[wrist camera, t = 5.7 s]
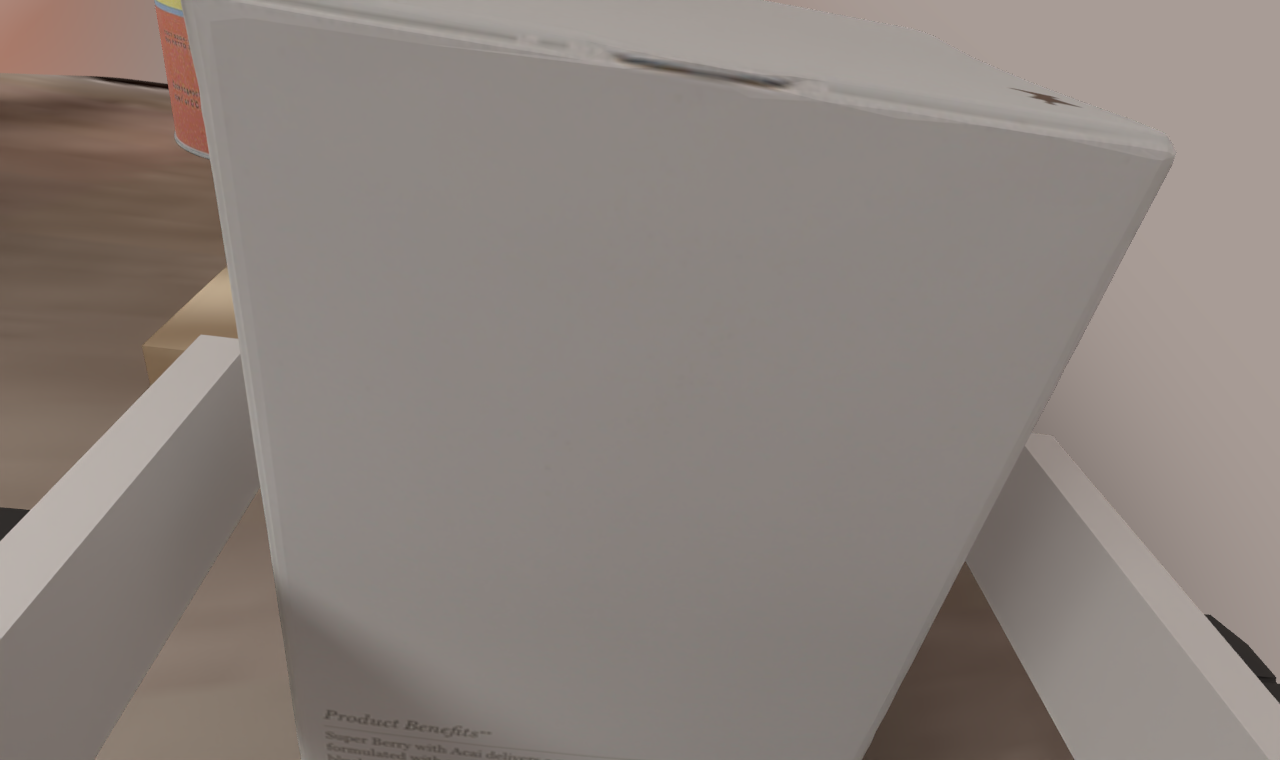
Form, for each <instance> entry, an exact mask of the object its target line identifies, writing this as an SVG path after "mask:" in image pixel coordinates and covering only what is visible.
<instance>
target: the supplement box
mask: <svg viewBox="0 0 1280 760" xmlns="http://www.w3.org/2000/svg"><path fill="white" fill-rule="evenodd" d="M181 6H182V11H183V16H184V20H185V25H186V30H187V35H188V40H189V45H190V50H191V55H192V59H193V64H194V68H195V72H196V77H197V81H198V86H199V92H200V101H201V110H202V116H203V120H204V125H205V130H206V137H207V144H208V150H209V156H210V162H211V168H212V174H213V180H214V186H215V192H216V198H217V204H218V211H219V217H220V223H221V230H222V236H223V242H224V249H225V255H226V261H227V268H228V274H229V280H230V286H231V293H232V300H233V307H234V313H235V320H236V327H237V334H238V341H239V347H240V354H241V361H242V368H243V374H244V381H245V388H246V394H247V401H248V408H249V415H250V422H251V428H252V435H253V442H254V449H255V455H256V462H257V468H258V475H259V481H260V488H261V494H262V500H263V507H264V513H265V519H266V526H267V532H268V539H269V546H270V553H271V560H272V567H273V574H274V581H275V588H276V594H277V601H278V608H279V614H280V620H281V627H282V633H283V639H284V647H285V654H286V661H287V668H288V675H289V682H290V689H291V696H292V703H293V710H294V716H295V723H296V730H297V737H298V744H299V749H300V754H301V760H862V759H863V757H864V755H865V753H866V751H867V749H868V748H869V746H870V744H871V742H872V740H873V738H874V735H875V732H876V731H877V729H878V727H879V725H880V723H881V722H882V720H883V718H884V716H885V715H886V713H887V711H888V709H889V707H890V705H891V703H892V701H893V699H894V697H895V695H896V693H897V691H898V689H899V687H900V685H901V683H902V681H903V679H904V678H905V676H906V674H907V672H908V670H909V668H910V666H911V665H912V663H913V661H914V659H915V657H916V655H917V653H918V651H919V649H920V647H921V645H922V643H923V641H924V639H925V637H926V635H927V633H928V632H929V630H930V628H931V626H932V624H933V622H934V620H935V618H936V616H937V614H938V612H939V610H940V608H941V606H942V604H943V602H944V600H945V599H946V597H947V595H948V593H949V591H950V589H951V587H952V585H953V583H954V581H955V579H956V577H957V575H958V573H959V571H960V570H961V568H962V566H963V564H964V562H965V560H966V558H967V556H968V554H969V552H970V550H971V548H972V546H973V544H974V543H975V541H976V539H977V537H978V535H979V533H980V531H981V529H982V527H983V525H984V523H985V521H986V519H987V517H988V515H989V514H990V512H991V510H992V508H993V506H994V504H995V502H996V500H997V498H998V496H999V494H1000V492H1001V490H1002V489H1003V487H1004V485H1005V483H1006V481H1007V479H1008V477H1009V475H1010V473H1011V471H1012V469H1013V467H1014V465H1015V464H1016V462H1017V460H1018V458H1019V456H1020V454H1021V452H1022V450H1023V448H1024V446H1025V444H1026V442H1027V440H1028V439H1029V437H1030V435H1031V433H1032V431H1033V429H1034V427H1035V425H1036V423H1037V421H1038V419H1039V417H1040V416H1041V414H1042V412H1043V410H1044V408H1045V406H1046V404H1047V403H1048V401H1049V398H1050V397H1051V395H1052V393H1053V391H1054V390H1055V388H1056V386H1057V383H1058V381H1059V379H1060V377H1061V375H1062V373H1063V371H1064V369H1065V367H1066V365H1067V364H1068V362H1069V360H1070V358H1071V356H1072V354H1073V353H1074V351H1075V349H1076V347H1077V345H1078V343H1079V341H1080V340H1081V337H1082V336H1083V334H1084V332H1085V330H1086V328H1087V326H1088V324H1089V322H1090V320H1091V318H1092V316H1093V315H1094V312H1095V311H1096V309H1097V306H1098V305H1099V303H1100V301H1101V299H1102V297H1103V295H1104V293H1105V291H1106V289H1107V287H1108V286H1109V284H1110V282H1111V280H1112V278H1113V276H1114V274H1115V272H1116V270H1117V268H1118V266H1119V264H1120V262H1121V261H1122V259H1123V257H1124V255H1125V253H1126V251H1127V249H1128V247H1129V245H1130V244H1131V242H1132V240H1133V238H1134V236H1135V234H1136V232H1137V230H1138V228H1139V227H1140V225H1141V223H1142V221H1143V219H1144V217H1145V215H1146V213H1147V212H1148V209H1149V208H1150V206H1151V204H1152V202H1153V200H1154V198H1155V196H1156V195H1157V193H1158V191H1159V189H1160V187H1161V185H1162V183H1163V181H1164V179H1165V178H1166V176H1167V174H1168V172H1169V170H1170V168H1171V166H1172V163H1173V161H1174V157H1175V155H1176V150H1175V148H1174V146H1173V143H1172V142H1171V140H1170V139H1169V137H1168V136H1167V135H1166V133H1164V132H1162V131H1159V130H1157V129H1154V128H1151V127H1149V126H1146V125H1144V124H1142V123H1139V122H1137V121H1134V120H1131V119H1129V118H1127V117H1124V116H1121V115H1118V114H1115V113H1113V112H1110V111H1107V110H1104V109H1101V108H1099V107H1096V106H1093V105H1090V104H1087V103H1084V102H1082V101H1079V100H1076V99H1074V98H1071V97H1068V96H1066V95H1063V94H1061V93H1058V92H1056V91H1053V90H1050V89H1048V88H1045V87H1042V86H1039V85H1037V84H1035V83H1032V82H1030V81H1027V80H1025V79H1022V78H1020V77H1018V76H1015V75H1013V74H1011V73H1008V72H1006V71H1003V70H1001V69H999V68H996V67H994V66H992V65H990V64H987V63H985V62H983V61H980V60H978V59H976V58H973V57H972V56H970V55H968V54H966V53H964V52H962V51H960V50H959V49H957V48H955V47H953V46H951V45H950V44H948V43H946V42H944V41H942V40H941V39H939V38H937V37H935V36H933V35H931V34H928V33H926V32H923V31H920V30H916V29H912V28H906V27H901V26H896V25H891V24H886V23H880V22H875V21H870V20H865V19H859V18H854V17H849V16H843V15H838V14H833V13H828V12H823V11H818V10H813V9H807V8H802V7H797V6H791V5H786V4H781V3H775V2H769V1H764V0H181Z"/></svg>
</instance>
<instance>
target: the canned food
mask: <svg viewBox="0 0 1280 760" xmlns="http://www.w3.org/2000/svg"><path fill="white" fill-rule="evenodd" d="M155 7H156V13H157V19H158V25H159V31H160V37H161V44H162V50H163V56H164V62H165V68H166V75H167V81H168V87H169V93H170V99H171V105H172V112H173V118H174V124H175V130H176V131H175V140H176V142H177V144H178V145H180V146H181V147H182V148H183V149H185V150H187V151H188V152H190V153H193V154H195V155H197V156H200V157H203V158H206V159H210V156H209V150H208V144H207V137H206V130H205V125H204V120H203V116H202V110H201V101H200V92H199V86H198V81H197V77H196V72H195V68H194V64H193V59H192V55H191V50H190V45H189V40H188V35H187V30H186V25H185V20H184V16H183V11H182V6H181V0H155Z"/></svg>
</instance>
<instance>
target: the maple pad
mask: <svg viewBox="0 0 1280 760" xmlns="http://www.w3.org/2000/svg"><path fill="white" fill-rule="evenodd" d="M200 335H210V336H218V337H226V338H235V339H238V334H237V327H236V320H235V313H234V307H233V300H232V293H231V286H230V280H229V274H228V268H227V266H226V267H225V268H224V269H223V270H222V271H221V272H220V273H219V274H218V275H217V276H216V277H215V278H213V279H212V280H211V281H210V282H209V283H208V284H207V285H206V286H205V287H204V288H203V289H202V290H201V291H200V292H199V293H197V294H196V295H195V296H194V297H193V298H192V299H191V300H190V301H189V302H188V303H187V304H186V305H185V306H184V307H182V308H181V309H180V310H179V311H178V312H177V313H176V314H175V315H174V316H173V317H172V318H171V319H170V320H169V321H168V322H166V323H165V324H164V325H163V326H162V327H161V328H160V329H159V330H158V331H157V332H156V333H155V334H154V335H153V336H151V337H150V338H149V339H148V340H147V341H146V342H145V343H144V344H143V345H142V349H143V354H144V358H145V363H146V367H147V372H148V377H149V381H150V386H151V385H152V384H153V383H154V382H155V381H156V380H157V379H158V378H159V377H160V376H161V375H162V374H163V373H164V372H165V371H166V370H167V369H168V368H169V367H170V366H171V365H172V364H173V363H174V362H175V361H176V359H177V358H178V357H179V356H180V355H181V354H182V353H183V352H184V351H185V350H186V349H187V348H188V347H189V346H190V345H191V344H192V343H193V342H194V341H195V340H196V339H197V338H198V337H199V336H200Z"/></svg>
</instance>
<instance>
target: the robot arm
mask: <svg viewBox="0 0 1280 760" xmlns="http://www.w3.org/2000/svg"><path fill="white" fill-rule="evenodd" d="M259 488H260V481H259V475H258V468H257V462H256V455H255V449H254V442H253V435H252V428H251V422H250V415H249V408H248V401H247V394H246V388H245V381H244V374H243V368H242V361H241V354H240V347H239V341H238V339H235V338H226V337H218V336H210V335H200V336H199V337H198V338H197V339H196V340H195V341H194V342H193V343H192V344H191V345H190V346H189V347H188V348H187V349H186V350H185V351H184V352H183V353H182V354H181V355H180V356H179V357H178V358H177V359H176V361H175V362H174V363H173V364H172V365H171V366H170V367H169V368H168V369H167V370H166V371H165V372H164V373H163V374H162V375H161V376H160V377H159V378H158V379H157V380H156V381H155V382H154V383H153V384H152V385H151V386H150V387H149V388H148V389H147V390H146V391H145V392H144V394H143V395H142V396H141V397H140V398H139V399H138V400H137V401H136V402H135V403H134V404H133V405H132V406H131V407H130V408H129V409H128V410H127V411H126V412H125V413H124V414H123V415H122V416H121V417H120V418H119V419H118V420H117V421H116V422H115V423H114V424H113V425H112V427H111V428H110V429H109V430H108V431H107V432H106V433H105V434H104V435H103V436H102V437H101V438H100V439H99V440H98V441H97V442H96V443H95V444H94V445H93V446H92V447H91V448H90V449H89V450H88V451H87V452H86V453H85V454H84V455H83V456H82V457H81V458H80V460H79V461H78V462H77V463H76V464H75V465H74V466H73V467H72V468H71V469H70V470H69V471H68V472H67V473H66V474H65V475H64V476H63V477H62V478H61V479H60V480H59V481H58V482H57V483H56V484H55V485H54V486H53V487H52V488H51V489H50V490H49V492H48V493H47V494H46V495H45V496H44V497H43V498H42V499H41V500H40V501H39V502H38V503H37V504H36V505H35V506H34V507H33V508H32V509H31V510H24V509H13V508H1V507H0V760H94V759H95V757H96V756H97V754H98V752H99V751H100V749H101V747H102V746H103V744H104V743H105V741H106V739H107V738H108V736H109V734H110V733H111V731H112V729H113V728H114V726H115V724H116V723H117V721H118V720H119V718H120V716H121V715H122V713H123V711H124V710H125V708H126V706H127V705H128V703H129V701H130V700H131V698H132V697H133V695H134V693H135V692H136V690H137V688H138V687H139V685H140V683H141V682H142V680H143V678H144V677H145V675H146V674H147V672H148V670H149V669H150V667H151V665H152V664H153V662H154V660H155V659H156V657H157V655H158V654H159V652H160V651H161V649H162V647H163V646H164V644H165V642H166V641H167V639H168V637H169V636H170V634H171V632H172V631H173V629H174V628H175V626H176V624H177V623H178V621H179V619H180V618H181V616H182V614H183V613H184V611H185V609H186V608H187V606H188V605H189V603H190V601H191V600H192V598H193V596H194V595H195V593H196V591H197V590H198V588H199V586H200V585H201V583H202V582H203V580H204V578H205V577H206V575H207V573H208V572H209V570H210V568H211V567H212V565H213V563H214V562H215V560H216V559H217V557H218V555H219V554H220V552H221V550H222V549H223V547H224V545H225V544H226V542H227V540H228V539H229V537H230V536H231V534H232V532H233V531H234V529H235V527H236V526H237V524H238V522H239V521H240V519H241V517H242V516H243V514H244V513H245V511H246V509H247V508H248V506H249V504H250V503H251V501H252V499H253V498H254V496H255V494H256V493H257V491H258V490H259ZM965 561H966V563H967V565H968V567H969V569H970V570H971V572H972V574H973V576H974V578H975V579H976V581H977V583H978V585H979V587H980V589H981V590H982V592H983V594H984V596H985V598H986V599H987V601H988V603H989V605H990V607H991V609H992V610H993V612H994V614H995V616H996V618H997V620H998V621H999V623H1000V625H1001V627H1002V629H1003V630H1004V632H1005V634H1006V636H1007V638H1008V640H1009V641H1010V643H1011V645H1012V647H1013V649H1014V650H1015V652H1016V654H1017V656H1018V658H1019V660H1020V661H1021V663H1022V665H1023V667H1024V669H1025V671H1026V672H1027V674H1028V676H1029V678H1030V680H1031V681H1032V683H1033V685H1034V687H1035V689H1036V691H1037V692H1038V694H1039V696H1040V698H1041V700H1042V701H1043V703H1044V705H1045V707H1046V709H1047V711H1048V712H1049V714H1050V716H1051V718H1052V720H1053V722H1054V723H1055V725H1056V727H1057V729H1058V731H1059V732H1060V734H1061V736H1062V738H1063V740H1064V742H1065V743H1066V745H1067V747H1068V749H1069V751H1070V752H1071V754H1072V756H1073V758H1074V760H1280V684H1277V683H1276V677H1275V676H1274V675H1273V673H1272V672H1271V671H1270V670H1269V669H1268V668H1267V666H1266V665H1265V664H1264V663H1263V662H1262V661H1261V660H1260V658H1259V657H1258V656H1257V655H1256V654H1255V653H1254V652H1253V650H1252V649H1251V648H1250V647H1249V646H1248V645H1247V644H1246V643H1245V642H1243V641H1242V640H1241V639H1240V638H1239V637H1237V636H1236V635H1235V634H1234V633H1232V632H1231V631H1230V630H1228V629H1227V628H1226V627H1225V626H1223V625H1222V624H1221V623H1220V622H1218V621H1217V620H1216V619H1215V618H1213V617H1212V616H1211V615H1205V614H1203V613H1202V612H1201V610H1199V608H1198V607H1197V606H1196V605H1195V603H1194V602H1193V601H1192V600H1191V599H1190V597H1189V596H1188V595H1187V594H1186V593H1185V592H1184V590H1183V589H1182V588H1181V587H1180V586H1179V584H1178V583H1177V582H1176V581H1175V580H1174V579H1173V577H1172V576H1171V575H1170V574H1169V573H1168V572H1167V570H1166V569H1165V568H1164V567H1163V566H1162V564H1161V563H1160V562H1159V561H1158V560H1157V559H1156V557H1155V556H1154V555H1153V554H1152V553H1151V551H1150V550H1149V549H1148V548H1147V547H1146V546H1145V544H1144V543H1143V542H1142V541H1141V540H1140V538H1138V536H1137V535H1136V534H1135V532H1134V531H1133V530H1132V529H1131V528H1130V527H1129V525H1128V524H1127V523H1126V522H1125V521H1124V519H1123V518H1122V517H1121V516H1120V515H1119V514H1118V512H1117V511H1116V510H1115V509H1114V508H1113V507H1112V505H1111V504H1110V503H1109V502H1108V501H1107V500H1106V498H1105V497H1104V496H1103V495H1102V494H1101V492H1100V491H1099V490H1098V489H1097V488H1096V486H1095V485H1094V484H1093V483H1092V482H1091V481H1090V479H1089V478H1088V477H1087V476H1086V475H1085V474H1084V472H1083V471H1082V470H1081V469H1080V468H1079V466H1078V465H1077V464H1076V463H1075V462H1074V460H1073V459H1072V458H1071V457H1070V456H1069V455H1068V453H1067V452H1066V451H1065V450H1064V449H1063V448H1062V447H1061V445H1060V444H1059V443H1058V442H1057V440H1056V439H1055V438H1054V437H1053V436H1052V435H1047V434H1038V433H1031V435H1030V437H1029V439H1028V440H1027V442H1026V444H1025V446H1024V448H1023V450H1022V452H1021V454H1020V456H1019V458H1018V460H1017V462H1016V464H1015V465H1014V467H1013V469H1012V471H1011V473H1010V475H1009V477H1008V479H1007V481H1006V483H1005V485H1004V487H1003V489H1002V490H1001V492H1000V494H999V496H998V498H997V500H996V502H995V504H994V506H993V508H992V510H991V512H990V514H989V515H988V517H987V519H986V521H985V523H984V525H983V527H982V529H981V531H980V533H979V535H978V537H977V539H976V541H975V543H974V544H973V546H972V548H971V550H970V552H969V554H968V556H967V558H966V560H965Z"/></svg>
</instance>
